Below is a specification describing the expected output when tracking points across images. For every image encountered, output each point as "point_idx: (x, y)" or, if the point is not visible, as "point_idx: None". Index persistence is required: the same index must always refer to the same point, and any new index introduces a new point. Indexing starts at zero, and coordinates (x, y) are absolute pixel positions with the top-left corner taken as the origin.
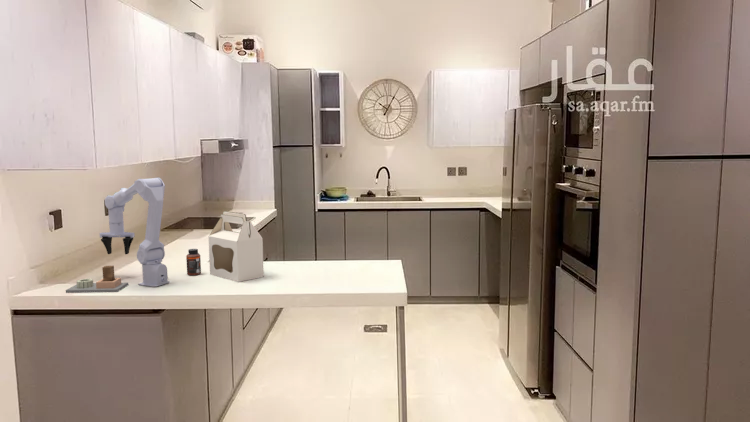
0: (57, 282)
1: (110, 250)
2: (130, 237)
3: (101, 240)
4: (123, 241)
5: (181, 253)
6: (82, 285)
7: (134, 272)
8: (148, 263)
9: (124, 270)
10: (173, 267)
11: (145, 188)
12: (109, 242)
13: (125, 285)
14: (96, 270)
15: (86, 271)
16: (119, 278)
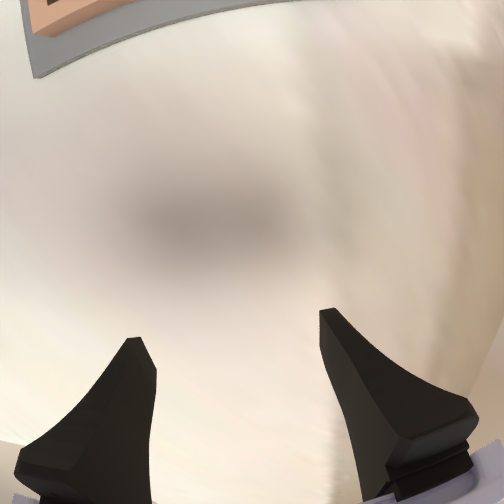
0: (493, 83)
1: (328, 359)
2: (35, 501)
3: (464, 401)
4: (80, 449)
5: (241, 495)
6: None
7: (218, 335)
8: None
9: (298, 353)
10: None
11: None
12: (361, 435)
13: (28, 38)
14: (425, 321)
15: (457, 297)
16: (33, 16)
